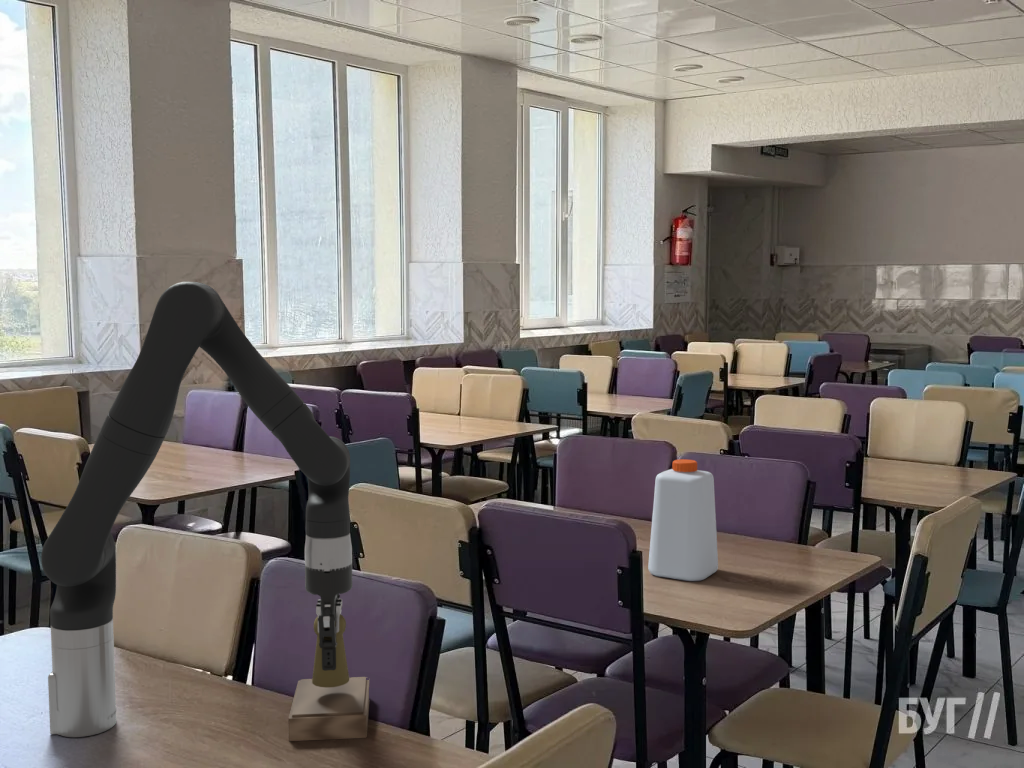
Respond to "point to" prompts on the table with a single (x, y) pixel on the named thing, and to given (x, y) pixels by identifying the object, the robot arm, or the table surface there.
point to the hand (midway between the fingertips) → (330, 664)
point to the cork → (341, 672)
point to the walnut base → (329, 711)
